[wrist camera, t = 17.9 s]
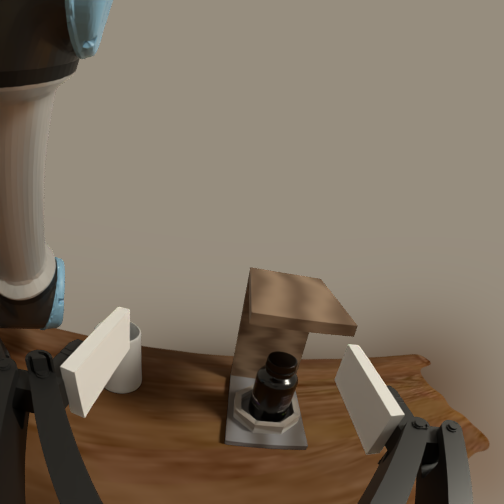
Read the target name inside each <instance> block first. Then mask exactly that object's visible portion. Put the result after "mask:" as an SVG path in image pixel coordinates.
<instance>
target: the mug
mask: <svg viewBox="0 0 504 504" xmlns="http://www.w3.org/2000/svg"><path fill="white" fill-rule="evenodd" d="M102 322H103V321H102ZM102 322H101V323H102ZM101 323H99V324H98V325H97V326H96V327H95V329H96V328H97V327H98V326H99V325H100V324H101ZM141 382H142V370H141V331H140V328H139V327H138V326H137V325H135V324H134V323H132V322H130V349H129V350H128V352H127V353H126V355H125V356H124V358H123V359H122V361H121V362H120V364H119V365H118V367H117V368H116V370H115V371H114V373H113V374H112V376H111V377H110V379H109V380H108V382H107V384H106V385H105V387H104V388H106V389H107V390H109V391H111V392H114V393H129V392H132V391H134V390H136V389H137V388H138V387H139V386H140V385H141Z"/></svg>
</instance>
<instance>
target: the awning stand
mask: <svg viewBox="0 0 504 504" xmlns="http://www.w3.org/2000/svg"><path fill="white" fill-rule="evenodd" d="M356 329H357V325H356V323H355V322H354V321H353V319H352V318H351V317H350V316H349V314H348V313H347V312H346V310H345V309H344V308H343V306H342V305H341V304H340V303H339V301H338V300H337V299H336V298H335V296H333V294H332V293H331V291H330V290H329V289H328V288H327V286H326V285H325V284H324V283H323V281H322V280H321V279H318V278H311V277H305V276H299V275H293V274H287V273H281V272H274V271H269V270H263V269H257V268H250V273H249V278H248V283H247V288H246V294H245V299H244V305H243V311H242V316H241V321H240V327H239V332H238V337H237V343H236V348H235V353H234V359H233V364H232V370H231V375H230V387H229V398H228V410H227V422H226V434H225V444H228V445H237V446H246V447H257V448H271V449H297V450H306V448H307V446H308V445H307V440H306V436H305V431H304V427H303V422H302V418H301V413H300V409H299V404H298V400H297V396H296V391H295V392H294V395H293V398H292V400H291V403H290V406H289V408H288V411H287V413H286V416H285V418H284V419H283V420H282V421H280V422H265V421H257V420H256V419H254V418H253V417H252V416H251V415H250V413H249V411H248V405H249V401H250V397H251V394H252V390H253V386H254V382H255V378H256V374H257V372H258V370H259V369H260V368H261V367H262V366H264V365H265V363H266V361H267V357H268V355H269V354H270V353H272V352H276V351H280V352H286V353H289V354H291V355H293V356H294V357H295V358H296V359H297V361H298V364H297V367H296V372H295V373H296V374H297V370H298V367H299V364H300V361H301V357H302V354H303V351H304V348H305V344H306V341H307V337H308V334H309V332H312V333H322V334H331V335H342V336H353V337H354V335H355V332H356Z"/></svg>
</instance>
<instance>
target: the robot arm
mask: <svg viewBox="0 0 504 504" xmlns="http://www.w3.org/2000/svg"><path fill="white" fill-rule="evenodd" d="M112 2H113V0H0V328H19V329H41V330H45V329H50V328H57V327H59V326H60V325H61V324H62V321H63V313H64V301H63V300H64V287H65V284H64V283H65V268H64V262H63V261H62V259H58V258H57V257H54V253H53V251H52V249H51V248H50V247H49V246H48V244H47V243H45V237H44V178H45V162H46V151H47V142H48V134H49V127H50V119H51V114H52V108H53V103H54V98H55V93H56V89H57V88H58V87H59V86H60V85H61V84H63V83H64V82H65V81H67V80H68V79H69V78H71V77H72V76H73V75H74V74H75V72H76V69H77V65H78V62H79V58H80V59H85V58H87V57H91V56H94V55H95V53H96V52H97V49H98V47H99V44H100V41H101V38H102V33H103V30H104V26H105V24H106V21H107V18H108V15H109V11H110V8H111V5H112ZM129 349H130V310H129V309H126V308H121V307H117V308H116V309H115V310H114V311H113V312H112V313H111V314H110V315H109V316H108V317H107V318H106V319H105V320H104V321H103V322H102V323H101V324H100V325H99V326H98V327H97V328H96V329H95V330H94V332H93V333H92V334H91V335H90V336H89V337H88V338H87V339H86V340H85V341H81V340H79V339H77V340H74V341H72V342H70V343H69V344H68V345H67V346H66V347H65V348H64V349H63V350H62V351H61V352H60V353H58V354H57V355H56V356H55V357H54V358H53V359H52V356H51V354H50V353H48V352H47V351H44V350H34V351H31V352H29V353H28V354H27V355H26V358H25V361H26V365H27V368H28V371H26V370H21V369H17V365H16V363H15V361H13V360H12V359H11V357H10V354H9V352H8V350H7V349H6V347H5V345H4V344H3V342H2V340H1V338H0V504H25V450H26V437H27V427H28V418H29V412H31V413H35V419H36V424H37V429H38V433H39V438H40V442H41V446H42V450H43V454H44V457H45V461H46V464H47V467H48V471H49V474H50V477H51V480H52V483H53V486H54V489H55V491H56V494H57V497H58V499H59V502H60V504H103V503H102V501H101V499H100V497H99V495H98V493H97V491H96V489H95V487H94V485H93V483H92V481H91V478H90V476H89V474H88V472H87V469H86V467H85V465H84V462H83V460H82V457H81V455H80V452H79V450H78V447H77V444H76V442H75V439H74V436H73V433H72V430H71V427H70V424H69V421H68V418H67V415H66V411H65V408H66V407H67V405H68V404H69V407H70V410H71V412H72V413H75V414H77V415H79V416H82V417H84V418H85V417H86V415H87V413H88V412H89V410H90V409H91V407H92V405H93V404H94V402H95V401H96V399H97V397H98V396H99V394H100V393H101V391H102V390H103V388H104V387H105V385H106V384H107V382H108V380H109V379H110V377H111V376H112V374H113V373H114V371H115V370H116V368H117V367H118V365H119V364H120V362H121V361H122V359H123V358H124V356H125V355H126V353H127V352H128V350H129ZM335 382H336V384H337V387H338V389H339V391H340V393H341V396H342V398H343V400H344V403H345V405H346V407H347V410H348V412H349V414H350V417H351V419H352V421H353V424H354V426H355V429H356V431H357V433H358V436H359V438H360V440H361V443H362V445H363V448H364V450H365V453H366V455H367V454H375V453H380V451H381V450H382V449H383V447H384V446H386V448H387V452H386V453H385V454H384V456H383V457H382V458H381V460H380V461H379V462H378V464H379V466H378V468H377V470H376V472H375V474H374V476H373V478H372V480H371V481H370V483H369V485H368V487H367V488H366V490H365V492H364V494H363V495H362V497H361V499H360V500H359V502H358V504H406V502H407V500H408V497H409V495H410V492H411V489H412V487H413V484H414V481H415V478H416V496H415V504H473V495H472V486H471V478H470V470H469V464H468V458H467V452H466V447H465V442H464V437H463V433H462V429H461V426H460V425H459V424H458V423H457V422H455V421H452V420H446V421H444V422H443V423H442V424H441V426H440V427H432V426H429V424H428V422H427V421H425V420H424V419H422V418H420V417H414V416H413V414H412V413H411V411H410V410H409V408H408V407H407V405H406V404H405V403H404V401H403V400H402V398H400V395H399V394H398V392H397V391H396V390H395V389H394V388H392V387H391V386H386V385H385V383H384V382H383V380H382V379H381V377H380V376H379V374H378V373H377V371H376V370H375V368H374V367H373V365H372V364H371V362H370V361H369V359H368V358H367V356H366V355H365V354H364V352H363V351H362V349H361V348H360V346H359V345H350V344H348V346H347V349H346V351H345V354H344V357H343V360H342V362H341V365H340V367H339V370H338V372H337V375H336V377H335ZM416 475H417V477H416Z"/></svg>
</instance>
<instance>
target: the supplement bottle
mask: <svg viewBox="0 0 504 504" xmlns="http://www.w3.org/2000/svg"><path fill="white" fill-rule="evenodd" d="M297 364H298V361H297V359H296V358H295V357H294V356H293V355H291V354H289V353H286V352H280V351H276V352H272V353H270V354H269V355H268V357H267V361H266V363H265V365H264V366H262V367H261V368H260V369H259V370H258V372H257V374H256V378H255V382H254V386H253V390H252V394H251V397H250V401H249V405H248V411H249V413H250V415H251V416H252V417H253V418H254V419H256V420H257V421H265V422H280V421H282V420H283V419H284V418H285V416H286V413H287V411H288V408H289V406H290V403H291V400H292V398H293V395H294V392H295V390H296V387H297V384H298V378H297V375H296V373H295V372H296V367H297Z"/></svg>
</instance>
